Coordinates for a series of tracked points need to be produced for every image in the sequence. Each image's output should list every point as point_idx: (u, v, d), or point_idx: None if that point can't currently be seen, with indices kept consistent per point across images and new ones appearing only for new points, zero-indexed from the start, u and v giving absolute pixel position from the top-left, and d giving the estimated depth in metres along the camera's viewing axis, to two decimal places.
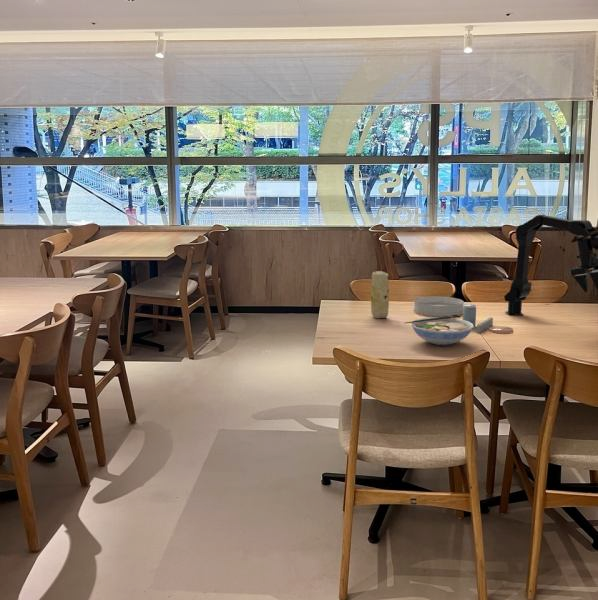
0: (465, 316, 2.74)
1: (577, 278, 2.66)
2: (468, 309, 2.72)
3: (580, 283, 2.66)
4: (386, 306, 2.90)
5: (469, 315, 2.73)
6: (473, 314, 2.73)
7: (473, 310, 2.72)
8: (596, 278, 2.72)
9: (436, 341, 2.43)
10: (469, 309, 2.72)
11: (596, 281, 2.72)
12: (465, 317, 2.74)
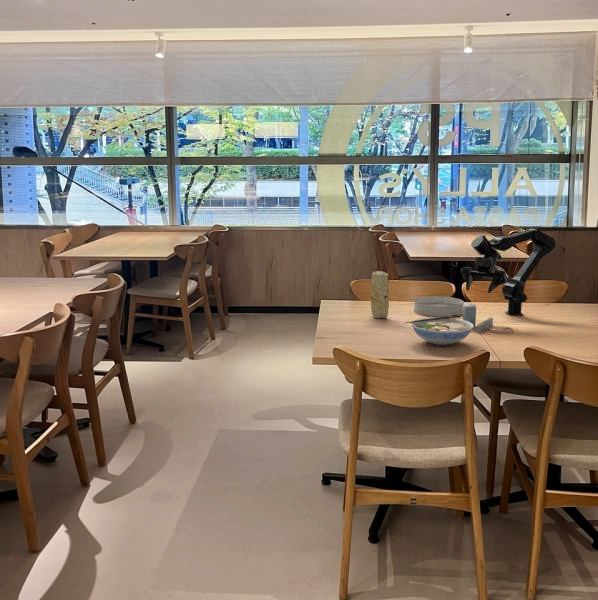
0: (465, 316, 2.74)
1: None
2: (468, 309, 2.72)
3: None
4: (386, 306, 2.90)
5: (469, 315, 2.73)
6: (473, 314, 2.73)
7: (473, 310, 2.72)
8: None
9: (436, 341, 2.43)
10: (469, 309, 2.72)
11: None
12: (465, 317, 2.74)
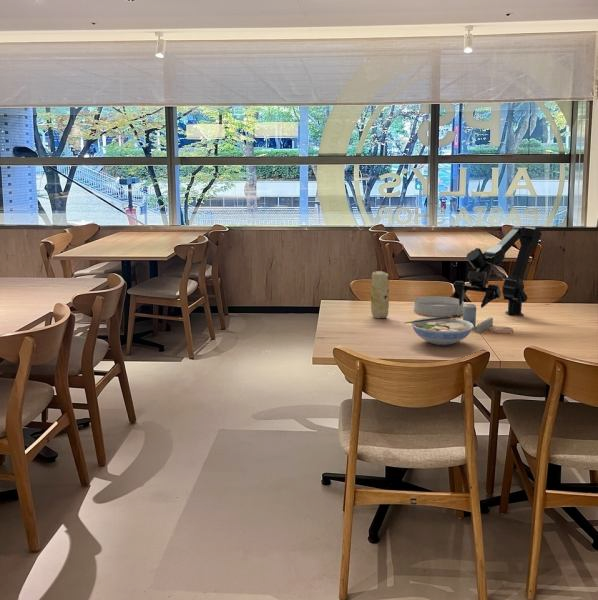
0: (465, 316, 2.74)
1: None
2: (468, 309, 2.72)
3: None
4: (386, 306, 2.90)
5: (469, 315, 2.73)
6: (473, 314, 2.73)
7: (473, 310, 2.72)
8: None
9: (436, 341, 2.43)
10: (469, 309, 2.72)
11: None
12: (465, 317, 2.74)
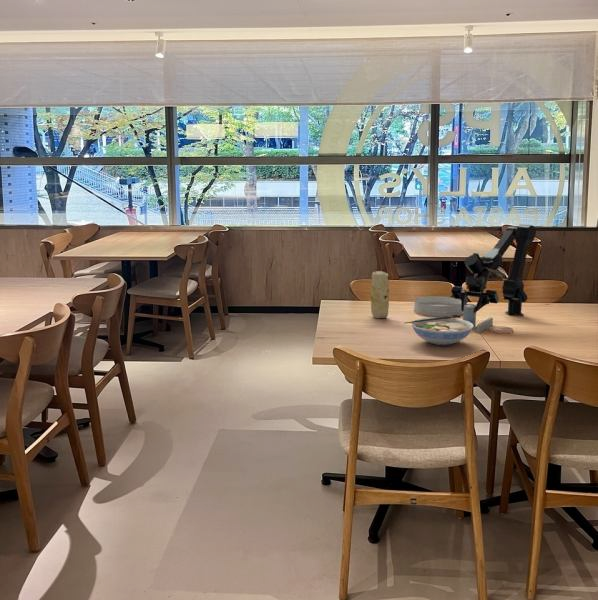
0: (465, 316, 2.74)
1: None
2: (468, 309, 2.72)
3: None
4: (386, 306, 2.90)
5: (469, 315, 2.73)
6: (473, 314, 2.73)
7: (473, 310, 2.72)
8: None
9: (436, 341, 2.43)
10: (469, 309, 2.72)
11: None
12: (465, 317, 2.74)
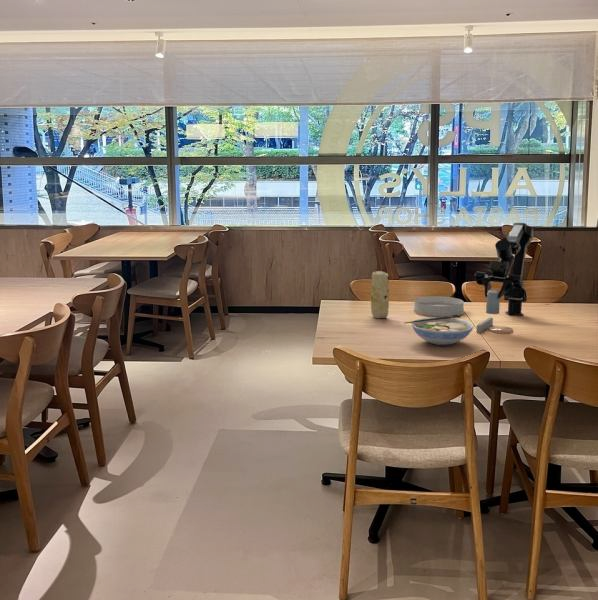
0: (489, 302, 2.67)
1: None
2: (492, 294, 2.66)
3: None
4: (386, 306, 2.90)
5: (493, 301, 2.66)
6: (497, 300, 2.66)
7: (497, 296, 2.66)
8: None
9: (436, 341, 2.43)
10: (493, 294, 2.66)
11: None
12: (488, 303, 2.67)
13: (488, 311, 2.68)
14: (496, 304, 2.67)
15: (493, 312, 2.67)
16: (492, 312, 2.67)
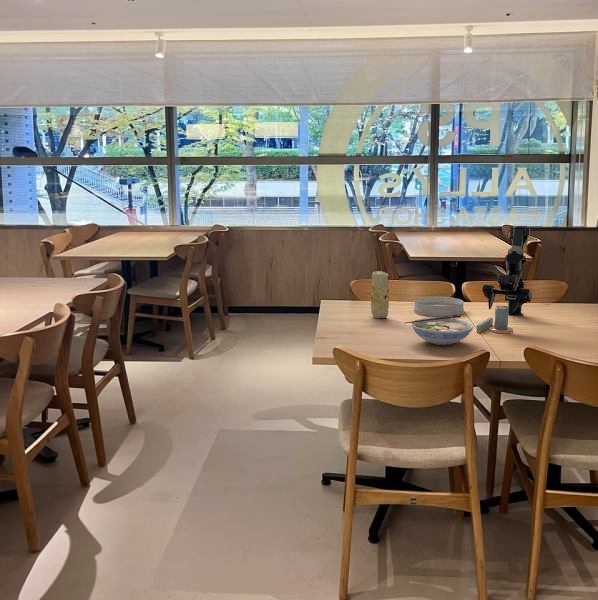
0: (497, 318, 2.67)
1: None
2: (500, 311, 2.65)
3: None
4: (386, 306, 2.90)
5: (501, 317, 2.66)
6: (505, 316, 2.66)
7: (505, 312, 2.65)
8: None
9: (436, 341, 2.43)
10: (501, 311, 2.65)
11: None
12: (497, 319, 2.67)
13: (497, 327, 2.67)
14: (505, 320, 2.66)
15: (502, 328, 2.66)
16: (501, 328, 2.66)
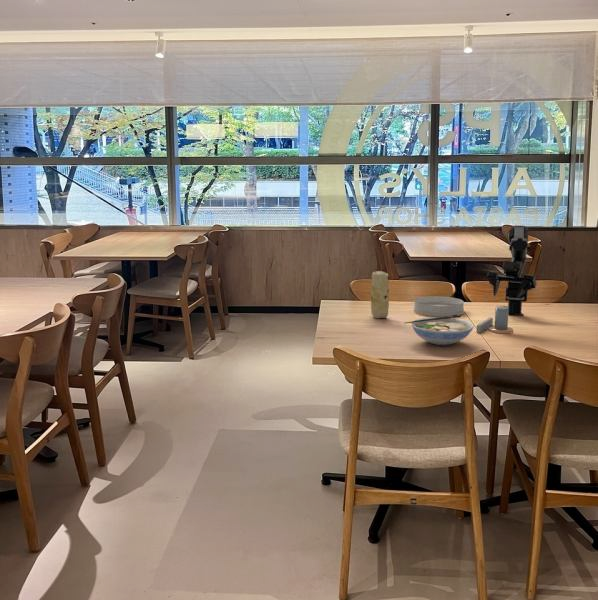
0: (497, 318, 2.67)
1: None
2: (500, 311, 2.65)
3: None
4: (386, 306, 2.90)
5: (501, 317, 2.66)
6: (505, 316, 2.66)
7: (505, 312, 2.65)
8: None
9: (436, 341, 2.43)
10: (501, 311, 2.65)
11: None
12: (497, 319, 2.67)
13: (497, 327, 2.67)
14: (505, 320, 2.66)
15: (502, 328, 2.66)
16: (501, 328, 2.66)
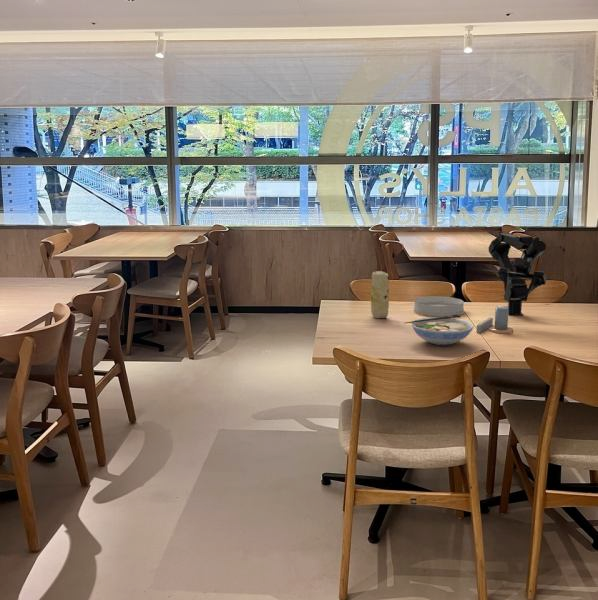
0: (497, 318, 2.67)
1: None
2: (500, 311, 2.65)
3: None
4: (386, 306, 2.90)
5: (501, 317, 2.66)
6: (505, 316, 2.66)
7: (505, 312, 2.65)
8: None
9: (436, 341, 2.43)
10: (501, 311, 2.65)
11: None
12: (497, 319, 2.67)
13: (497, 327, 2.67)
14: (505, 320, 2.66)
15: (502, 328, 2.66)
16: (501, 328, 2.66)
